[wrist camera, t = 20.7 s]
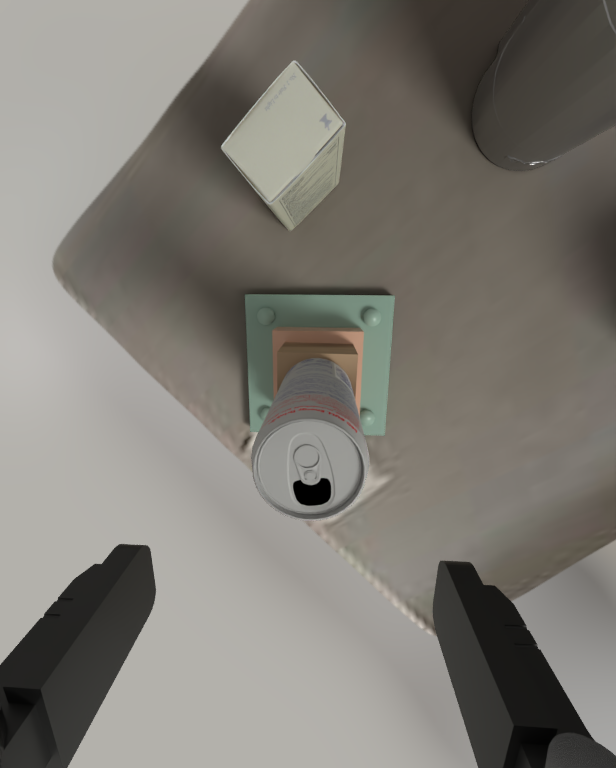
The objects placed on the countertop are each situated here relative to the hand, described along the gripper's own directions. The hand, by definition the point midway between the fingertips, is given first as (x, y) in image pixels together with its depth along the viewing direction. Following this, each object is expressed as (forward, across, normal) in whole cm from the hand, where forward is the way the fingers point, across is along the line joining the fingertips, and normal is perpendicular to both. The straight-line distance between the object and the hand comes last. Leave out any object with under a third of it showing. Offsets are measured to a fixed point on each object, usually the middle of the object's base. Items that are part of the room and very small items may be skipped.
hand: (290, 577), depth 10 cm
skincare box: (+27, +2, -16) cm, 31 cm away
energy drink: (+18, 0, 0) cm, 18 cm away
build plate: (+27, 0, 0) cm, 27 cm away
